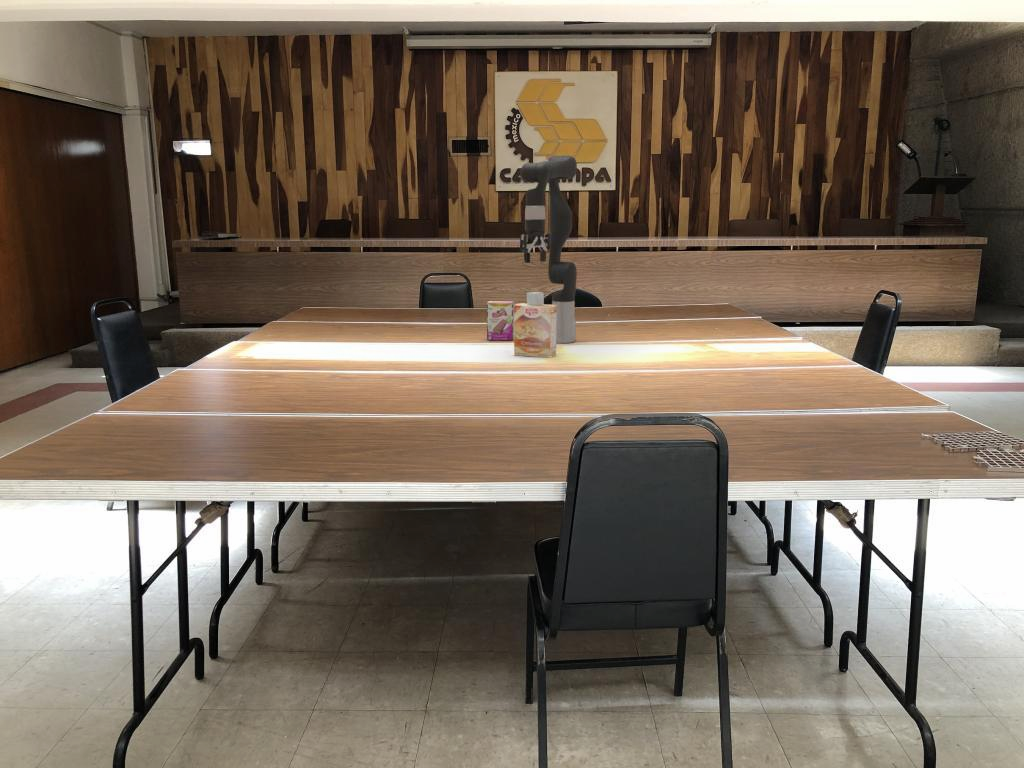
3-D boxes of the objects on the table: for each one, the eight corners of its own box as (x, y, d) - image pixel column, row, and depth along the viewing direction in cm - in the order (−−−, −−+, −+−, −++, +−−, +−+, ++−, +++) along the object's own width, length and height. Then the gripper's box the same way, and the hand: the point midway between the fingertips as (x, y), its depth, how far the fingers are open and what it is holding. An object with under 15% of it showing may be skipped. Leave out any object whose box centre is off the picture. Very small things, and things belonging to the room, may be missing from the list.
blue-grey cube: (535, 303, 326) (535, 291, 325) (543, 304, 323) (543, 292, 322) (526, 304, 323) (526, 292, 322) (535, 305, 319) (535, 293, 319)
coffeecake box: (513, 355, 326) (513, 304, 322) (520, 352, 333) (520, 302, 329) (550, 358, 321) (550, 306, 316) (556, 354, 327) (556, 304, 323)
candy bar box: (486, 341, 359) (486, 302, 355) (488, 339, 363) (487, 300, 360) (513, 341, 357) (513, 302, 354) (514, 339, 362) (514, 301, 359)
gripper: (540, 217, 323) (540, 260, 326) (514, 218, 313) (514, 262, 317) (555, 217, 318) (555, 261, 321) (529, 218, 308) (529, 263, 311)
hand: (535, 262), depth 319 cm, fingers open, 8 cm apart
